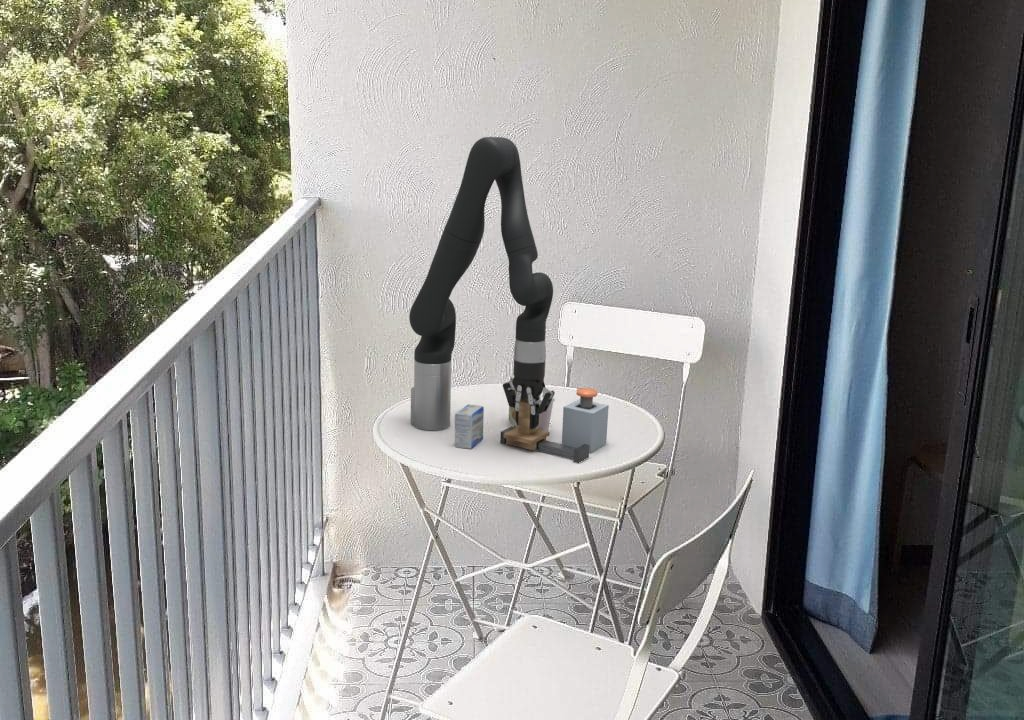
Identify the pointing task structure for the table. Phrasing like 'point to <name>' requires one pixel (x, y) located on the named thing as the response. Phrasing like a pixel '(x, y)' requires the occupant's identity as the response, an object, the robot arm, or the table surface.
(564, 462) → the table surface
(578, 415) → the grey button box
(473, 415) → the medicine box
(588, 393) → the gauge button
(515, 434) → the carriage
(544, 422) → the smoothie
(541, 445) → the rail
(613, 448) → the table surface
